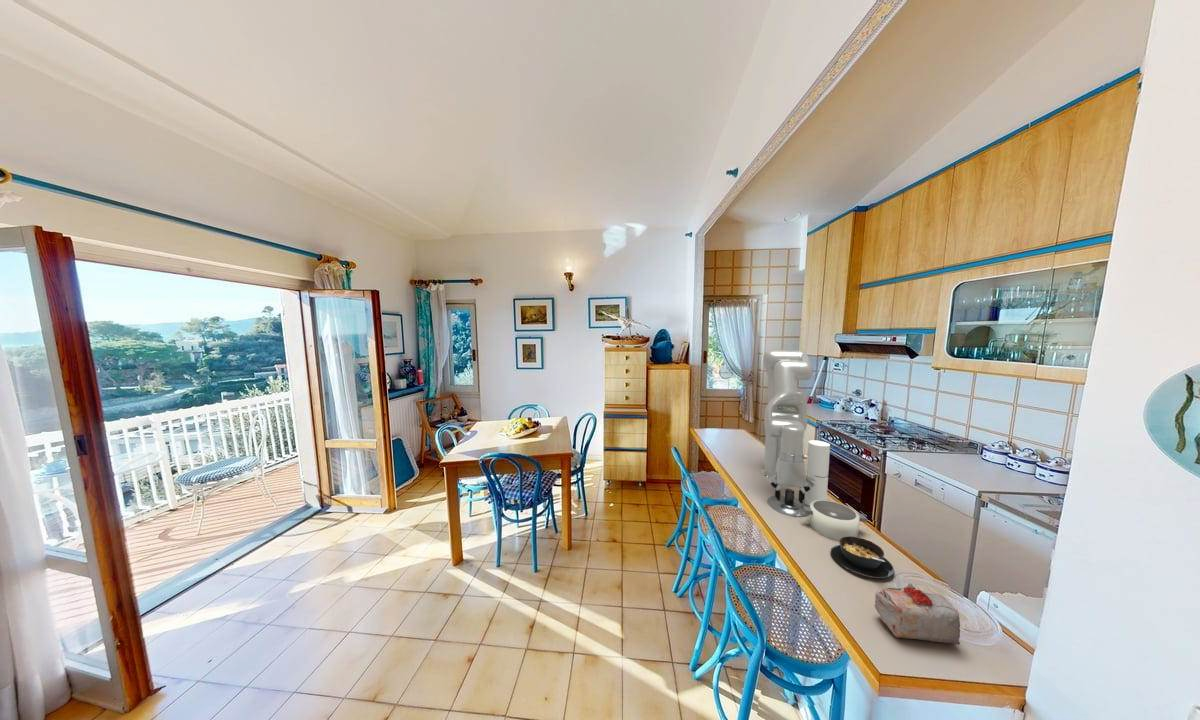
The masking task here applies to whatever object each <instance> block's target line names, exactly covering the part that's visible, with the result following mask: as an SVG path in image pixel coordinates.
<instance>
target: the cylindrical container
mask: <svg viewBox="0 0 1200 720" xmlns="http://www.w3.org/2000/svg"><path fill="white" fill-rule="evenodd" d="M807 442H808V447H807V459H806V460H807V462H806V463H807V465H806V477H807V478H808V479H809V480H810V481H812V482H813V483H814V486H813V487H812V488H810V490H809V491H807V492H806V494H805V498H804V501H805V503H806V504H807V505H810V504H811V502H812V501H815V500H827V499H828V485H829V484H828V483H829V469H830V467H829V466H830V451H831V444H830V443H828V442H826V441H822V440H817V439H816V440H815V439H813V440H812V439H811V440H808V441H807ZM806 485H808V483H807V482H806Z"/></svg>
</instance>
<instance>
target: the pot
mask: <svg viewBox="0 0 1200 720" xmlns="http://www.w3.org/2000/svg"><path fill="white" fill-rule="evenodd" d="M809 506H810V507H805V506H803V511H804V513H805V514H810V515H809V520H808V521H809V525H810V528H811V529H812V530H814V531H815V532H816V533H818V535H819V534H820V535H821V536H824V537H826V538H828V539H830V540H834V541H837V542H839V541H840V539H841V538H843V537H848V536H851V537H858V538H859V527H860V522H863V523H867V522H868V518H867V516H866V515H865V514H863V513H858V512H857V511H856V510H854V509H853V508H851V507H850V506H848V505H845V504H843V503H840V502H836V501H833V500H815V501H812V502H811V504H809Z"/></svg>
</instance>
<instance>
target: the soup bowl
mask: <svg viewBox="0 0 1200 720" xmlns="http://www.w3.org/2000/svg"><path fill="white" fill-rule="evenodd" d="M838 542H839V544H838V545H835V546H832V547H831V548H830V555H831V556H832V558H833V559H834V560H835V561H836V562H837V563H838V564H839V565H840V566H842V567H844V568H845V569H847V570H849V571H851V572H853V573H855V574H858V575H861V576H865V577H868V578H872V579H883V578H889V577H892V576H893V575H894V574H895V568H894V566H893V564H892V563H891V562H890V561H889V560H888V559H887V558H885V552H884V550H883V548H882V547H881V546H879V545H877V544H876V543H874V542H873V541H871V540H867V539H865V538H861V537H859V536H858V537H851V536H848V537H843V538H841V539H840V541H838Z"/></svg>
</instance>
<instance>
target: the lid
mask: <svg viewBox="0 0 1200 720" xmlns="http://www.w3.org/2000/svg"><path fill="white" fill-rule="evenodd" d="M766 501H767V504H768V506H769V507H770V508H771V509H773V510H774V511H775V512H777V513H780V514H783V515H785V516H789V517H794V518H807V517H810V514H805V513H804V511H803V506H805V507H810V504H808V503H807V502H804V501H803V504H801V503H800V501H799V498H795V490H793V488H792V489H791V488H784V495H780V500H779V501H778V500H777V498H776V497H775V495H772V496H770V497H768V498H767V500H766Z"/></svg>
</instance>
